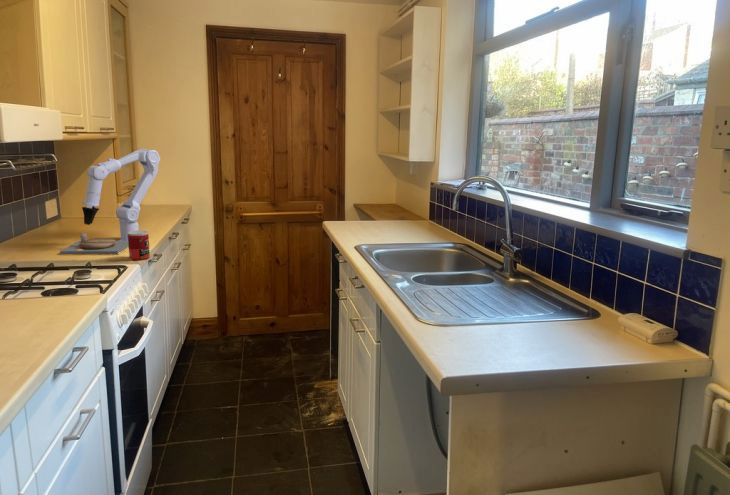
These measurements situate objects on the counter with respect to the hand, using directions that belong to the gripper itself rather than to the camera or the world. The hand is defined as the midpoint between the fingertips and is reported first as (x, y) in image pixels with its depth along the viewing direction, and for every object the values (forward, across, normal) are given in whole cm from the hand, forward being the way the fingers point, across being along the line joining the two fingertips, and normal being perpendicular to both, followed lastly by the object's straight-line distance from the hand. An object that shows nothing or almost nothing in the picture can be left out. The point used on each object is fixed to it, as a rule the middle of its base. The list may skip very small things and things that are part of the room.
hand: (88, 223), depth 241 cm
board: (+10, +4, +6) cm, 12 cm away
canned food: (+9, +24, +23) cm, 34 cm away
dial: (+8, +4, +6) cm, 11 cm away
